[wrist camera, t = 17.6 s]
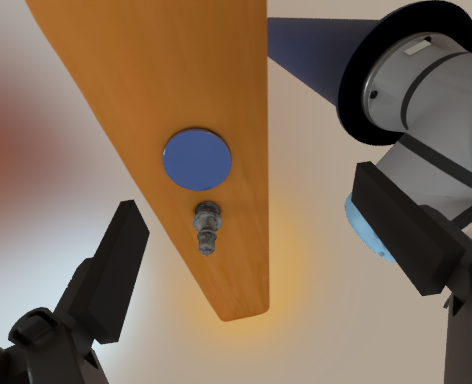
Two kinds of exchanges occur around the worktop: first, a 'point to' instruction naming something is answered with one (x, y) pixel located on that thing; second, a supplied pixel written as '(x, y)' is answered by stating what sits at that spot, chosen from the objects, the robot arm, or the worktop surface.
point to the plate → (197, 159)
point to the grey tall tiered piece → (207, 226)
